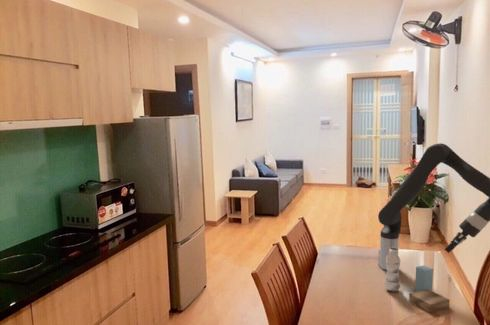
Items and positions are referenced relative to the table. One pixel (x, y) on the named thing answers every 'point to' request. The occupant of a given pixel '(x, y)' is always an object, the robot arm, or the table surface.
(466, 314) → the table surface
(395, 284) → the plastic bottle
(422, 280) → the blue block
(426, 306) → the walnut block
